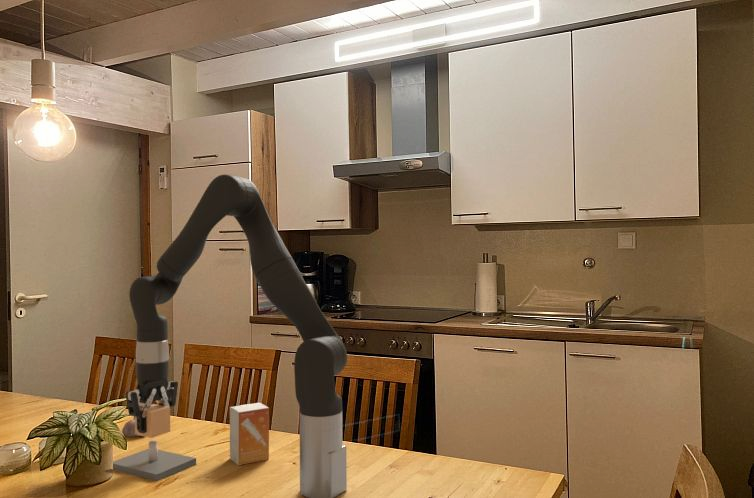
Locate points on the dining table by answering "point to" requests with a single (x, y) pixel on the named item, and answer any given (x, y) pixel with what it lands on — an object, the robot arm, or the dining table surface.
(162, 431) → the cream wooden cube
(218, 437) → the dining table surface
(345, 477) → the robot arm
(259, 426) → the small box
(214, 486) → the dining table surface
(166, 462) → the flat gray peg block
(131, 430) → the garlic bulb
